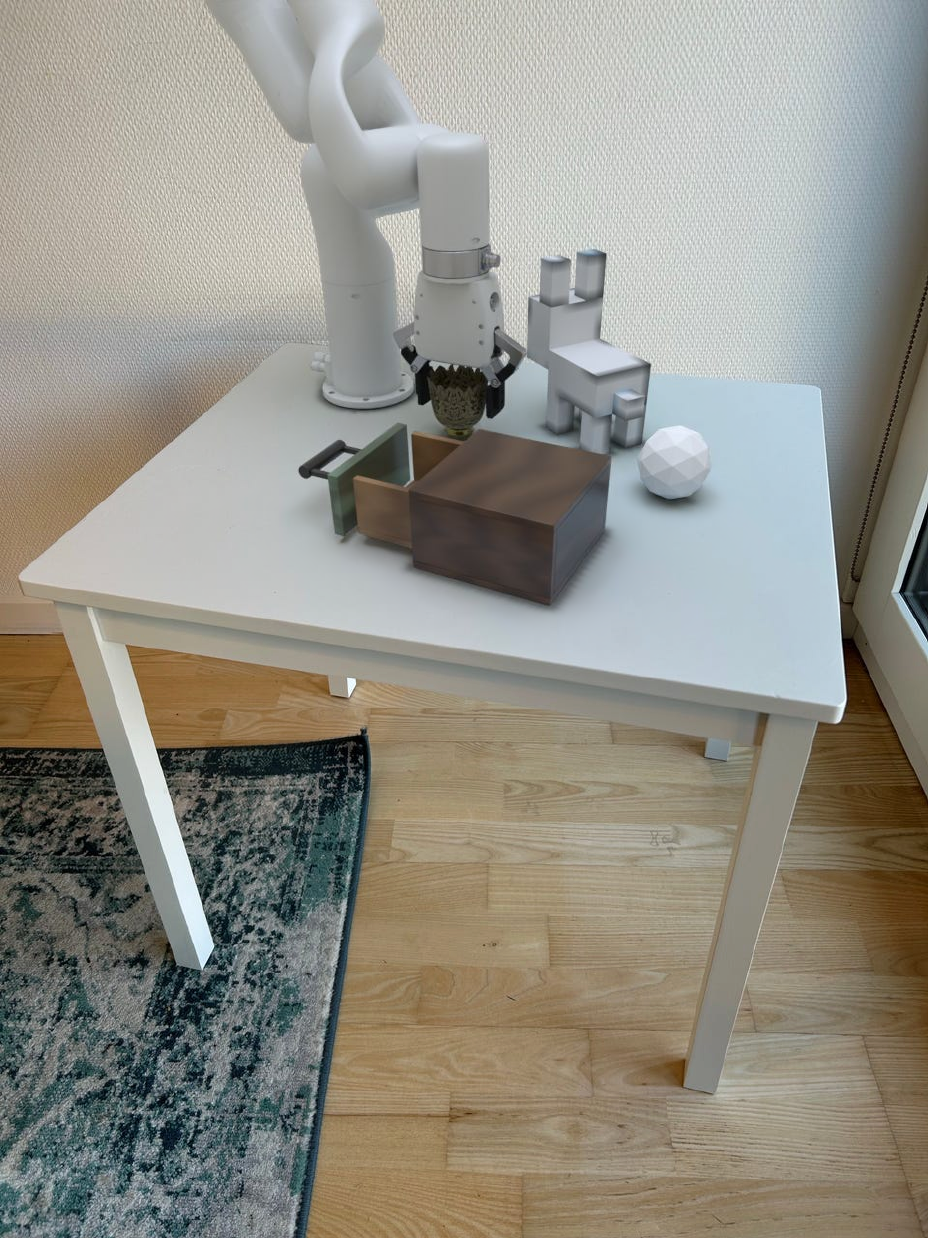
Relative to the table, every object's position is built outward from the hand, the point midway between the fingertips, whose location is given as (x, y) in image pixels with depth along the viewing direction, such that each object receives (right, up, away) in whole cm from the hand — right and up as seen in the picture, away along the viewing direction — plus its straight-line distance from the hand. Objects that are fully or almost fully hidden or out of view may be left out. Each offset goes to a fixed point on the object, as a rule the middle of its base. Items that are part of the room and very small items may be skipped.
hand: (459, 407), depth 106 cm
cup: (0, -3, +3) cm, 4 cm away
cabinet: (+5, -19, -19) cm, 27 cm away
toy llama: (+16, -2, +3) cm, 16 cm away
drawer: (-6, -15, -14) cm, 21 cm away
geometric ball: (+23, -12, -10) cm, 28 cm away
